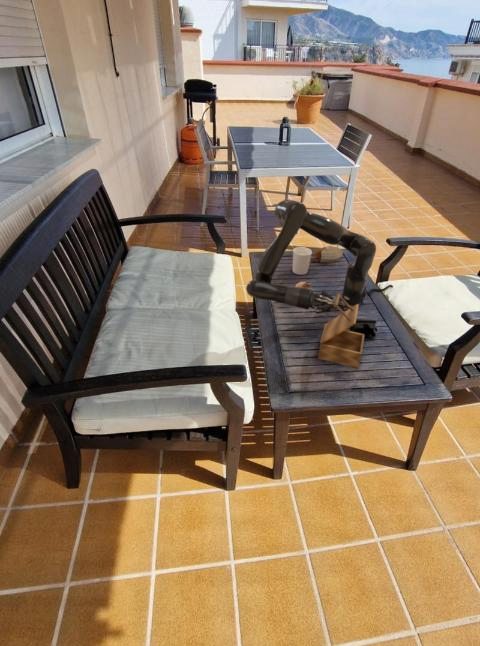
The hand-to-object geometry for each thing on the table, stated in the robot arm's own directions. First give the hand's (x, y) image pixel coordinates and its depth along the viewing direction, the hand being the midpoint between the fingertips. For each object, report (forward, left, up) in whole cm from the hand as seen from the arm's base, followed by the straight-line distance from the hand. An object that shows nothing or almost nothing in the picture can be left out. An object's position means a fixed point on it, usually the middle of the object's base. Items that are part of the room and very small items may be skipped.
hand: (344, 307), depth 144 cm
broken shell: (-8, -41, -22) cm, 47 cm away
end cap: (-18, -6, -22) cm, 29 cm away
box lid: (0, 0, -8) cm, 8 cm away
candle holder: (-20, -63, -22) cm, 69 cm away
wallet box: (-2, +1, -22) cm, 22 cm away
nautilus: (-39, -70, -22) cm, 83 cm away
